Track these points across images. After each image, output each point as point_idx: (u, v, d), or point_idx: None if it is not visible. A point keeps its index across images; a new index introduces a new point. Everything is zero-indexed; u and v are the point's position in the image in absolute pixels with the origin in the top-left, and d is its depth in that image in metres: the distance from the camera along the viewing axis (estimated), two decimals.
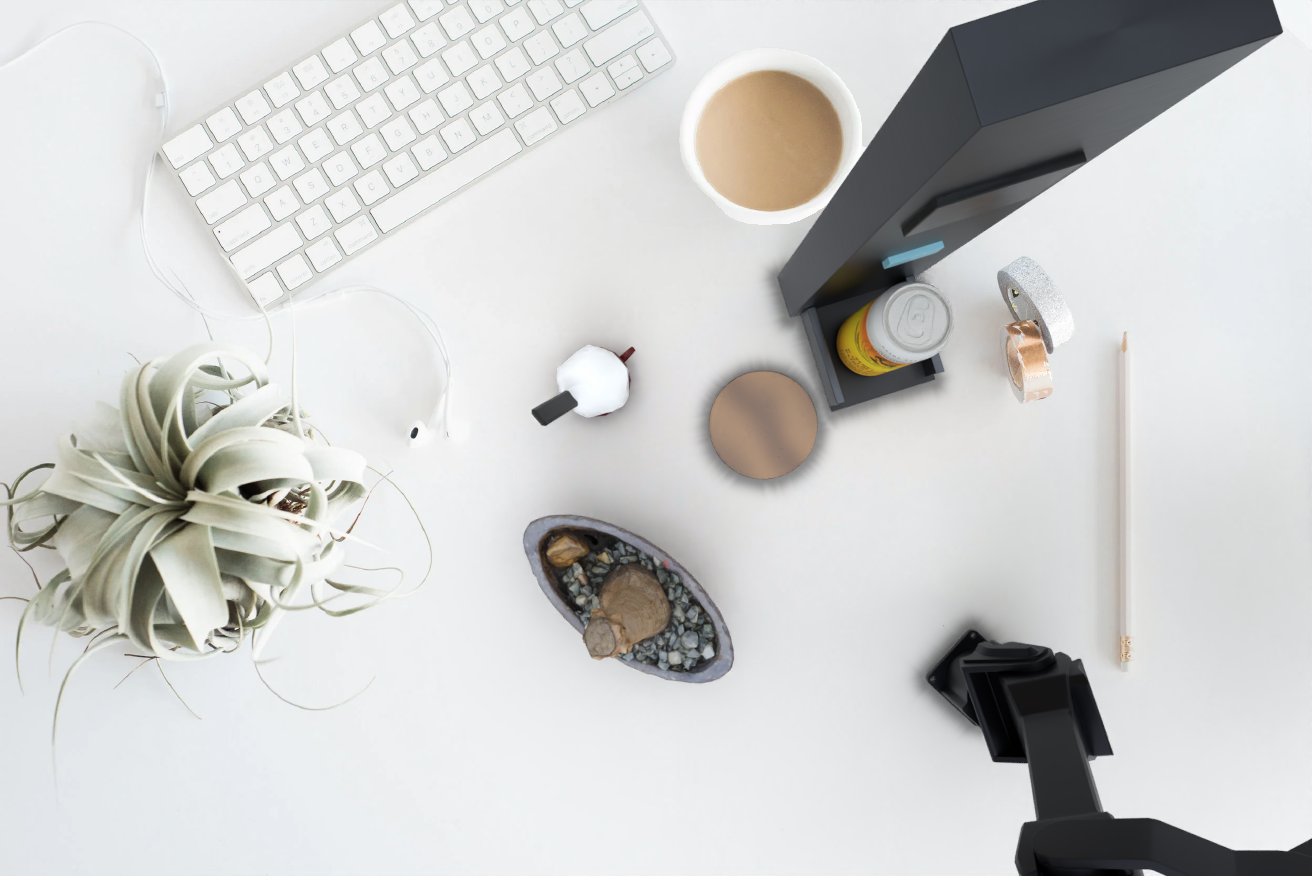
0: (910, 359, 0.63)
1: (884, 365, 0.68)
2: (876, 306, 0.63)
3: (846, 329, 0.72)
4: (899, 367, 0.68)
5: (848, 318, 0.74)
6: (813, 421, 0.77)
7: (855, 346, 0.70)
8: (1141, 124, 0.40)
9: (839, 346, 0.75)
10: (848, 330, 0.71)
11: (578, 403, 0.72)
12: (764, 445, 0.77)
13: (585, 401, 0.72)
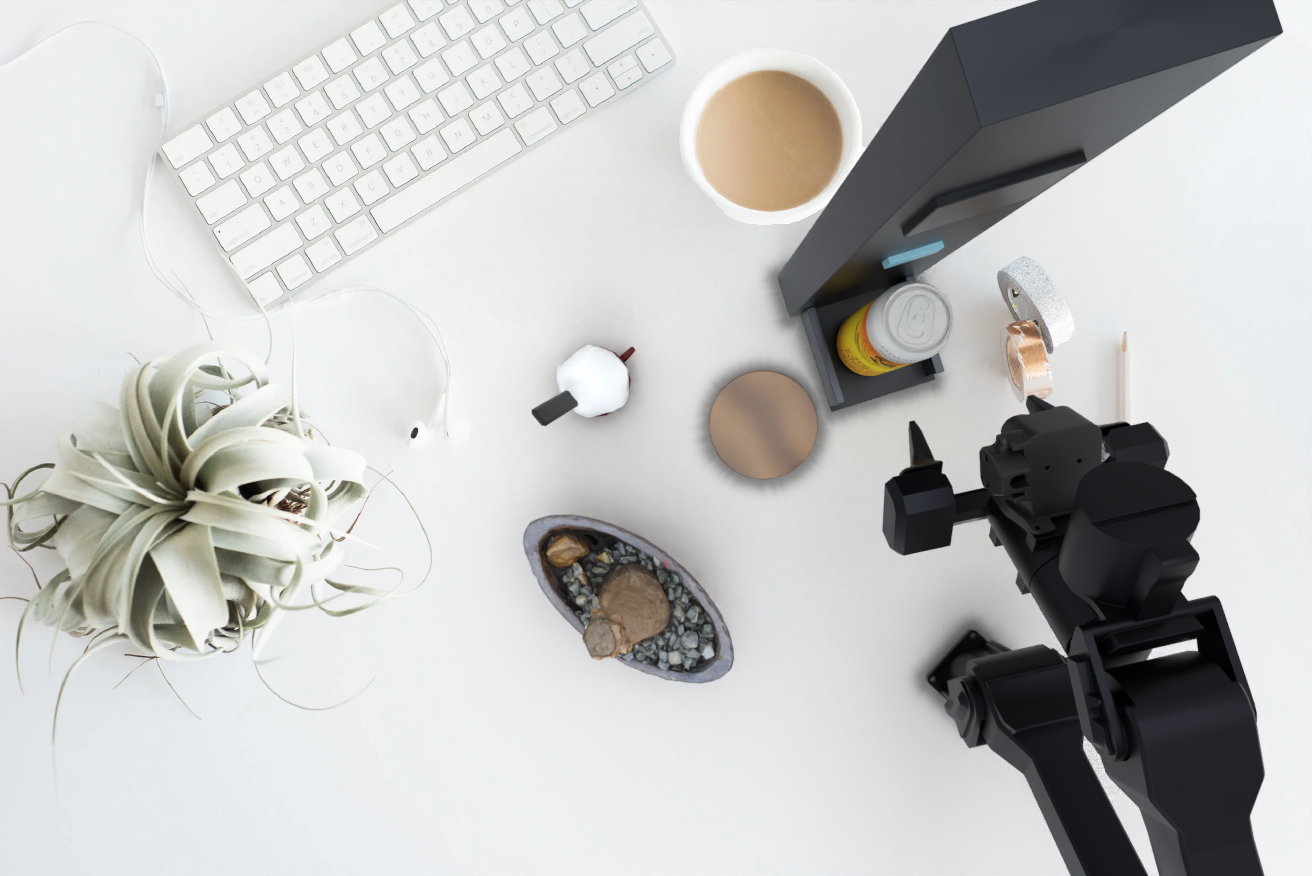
0: (910, 359, 0.63)
1: (884, 365, 0.68)
2: (876, 306, 0.63)
3: (846, 329, 0.72)
4: (899, 367, 0.68)
5: (848, 318, 0.74)
6: (813, 421, 0.77)
7: (855, 346, 0.70)
8: (1141, 124, 0.40)
9: (839, 346, 0.75)
10: (848, 330, 0.71)
11: (578, 403, 0.72)
12: (764, 445, 0.77)
13: (585, 401, 0.72)
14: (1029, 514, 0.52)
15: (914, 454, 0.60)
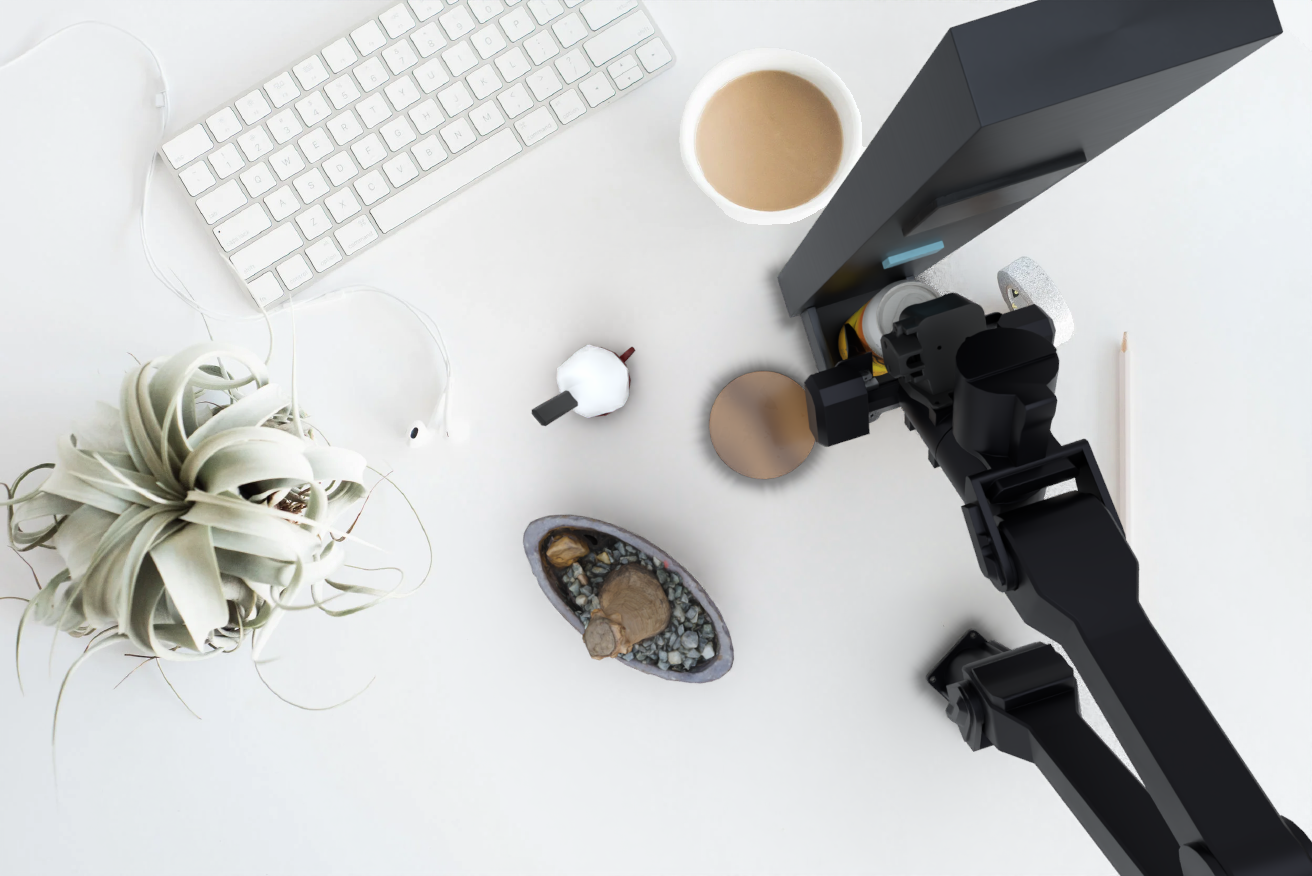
0: None
1: (881, 364, 0.68)
2: (871, 304, 0.63)
3: None
4: None
5: (850, 317, 0.74)
6: None
7: None
8: (1141, 124, 0.40)
9: (840, 345, 0.75)
10: None
11: (578, 403, 0.72)
12: (764, 445, 0.77)
13: (585, 401, 0.72)
14: (929, 392, 0.58)
15: (848, 350, 0.65)
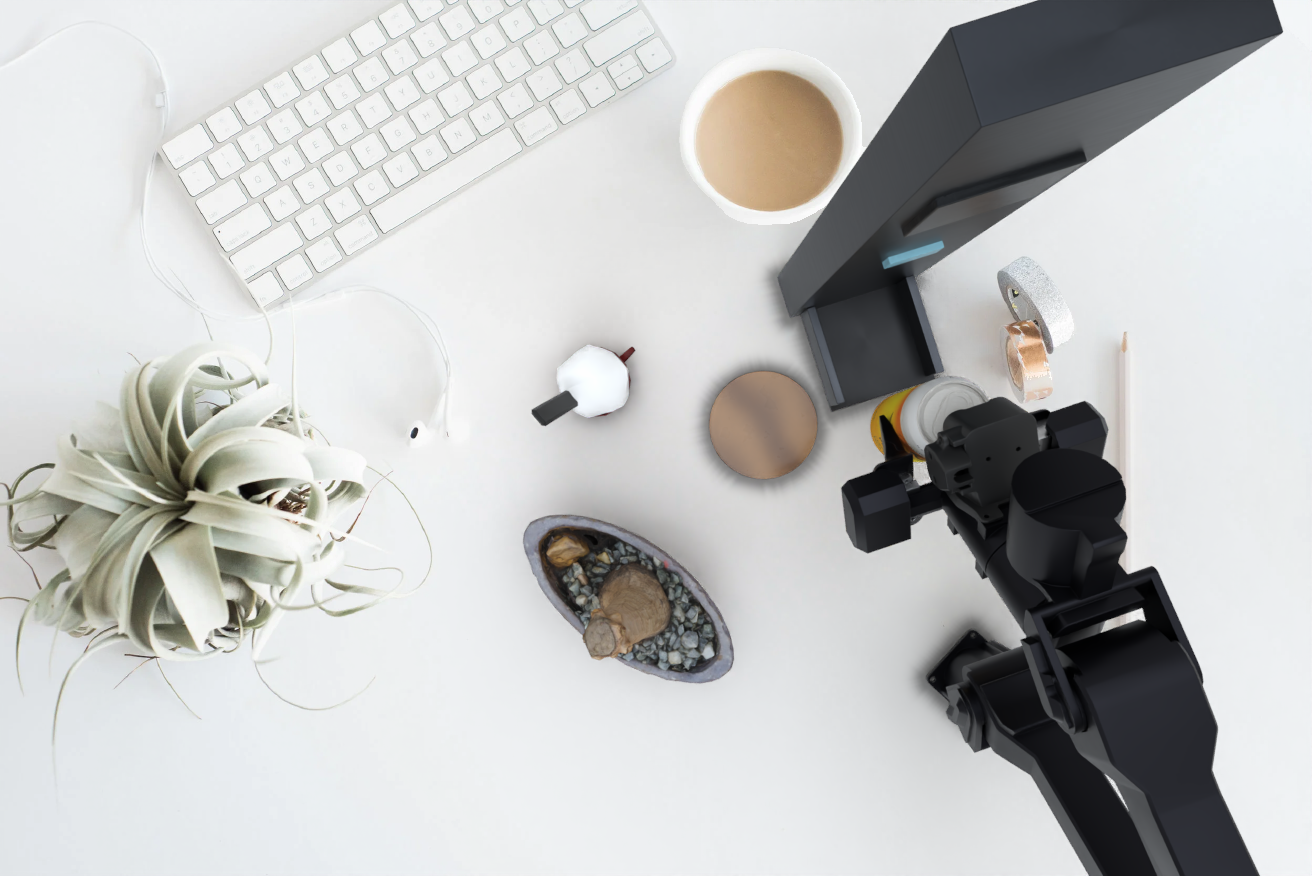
0: None
1: (920, 459, 0.64)
2: (911, 403, 0.59)
3: None
4: None
5: (882, 403, 0.71)
6: (813, 421, 0.77)
7: None
8: (1141, 124, 0.40)
9: (873, 432, 0.71)
10: None
11: (578, 403, 0.72)
12: (764, 445, 0.77)
13: (585, 401, 0.72)
14: (977, 503, 0.54)
15: (886, 448, 0.62)
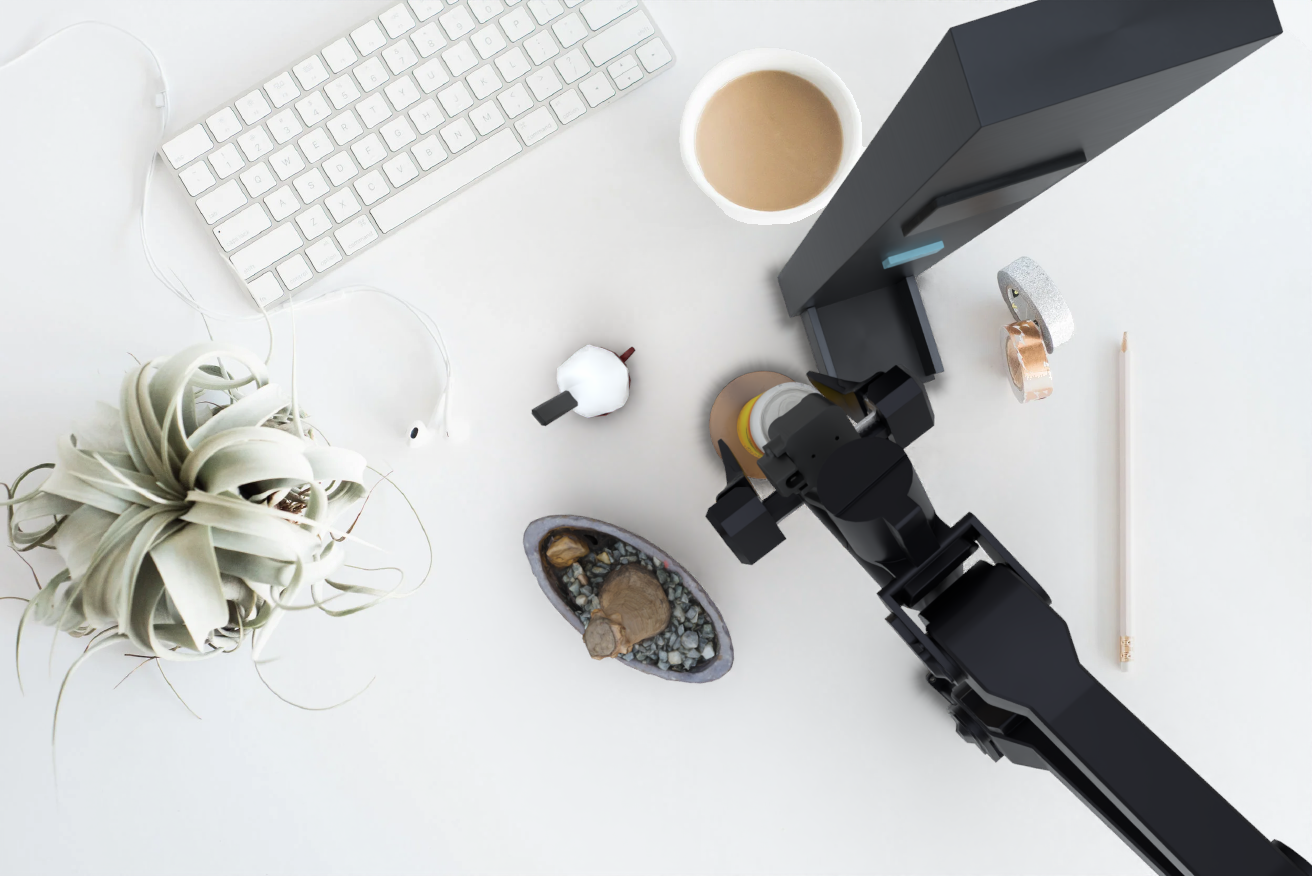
0: None
1: None
2: (753, 420, 0.63)
3: (741, 429, 0.72)
4: None
5: (740, 414, 0.74)
6: None
7: (752, 448, 0.70)
8: (1141, 124, 0.40)
9: (742, 442, 0.75)
10: (742, 431, 0.71)
11: (578, 403, 0.72)
12: None
13: (585, 401, 0.72)
14: None
15: (726, 473, 0.65)
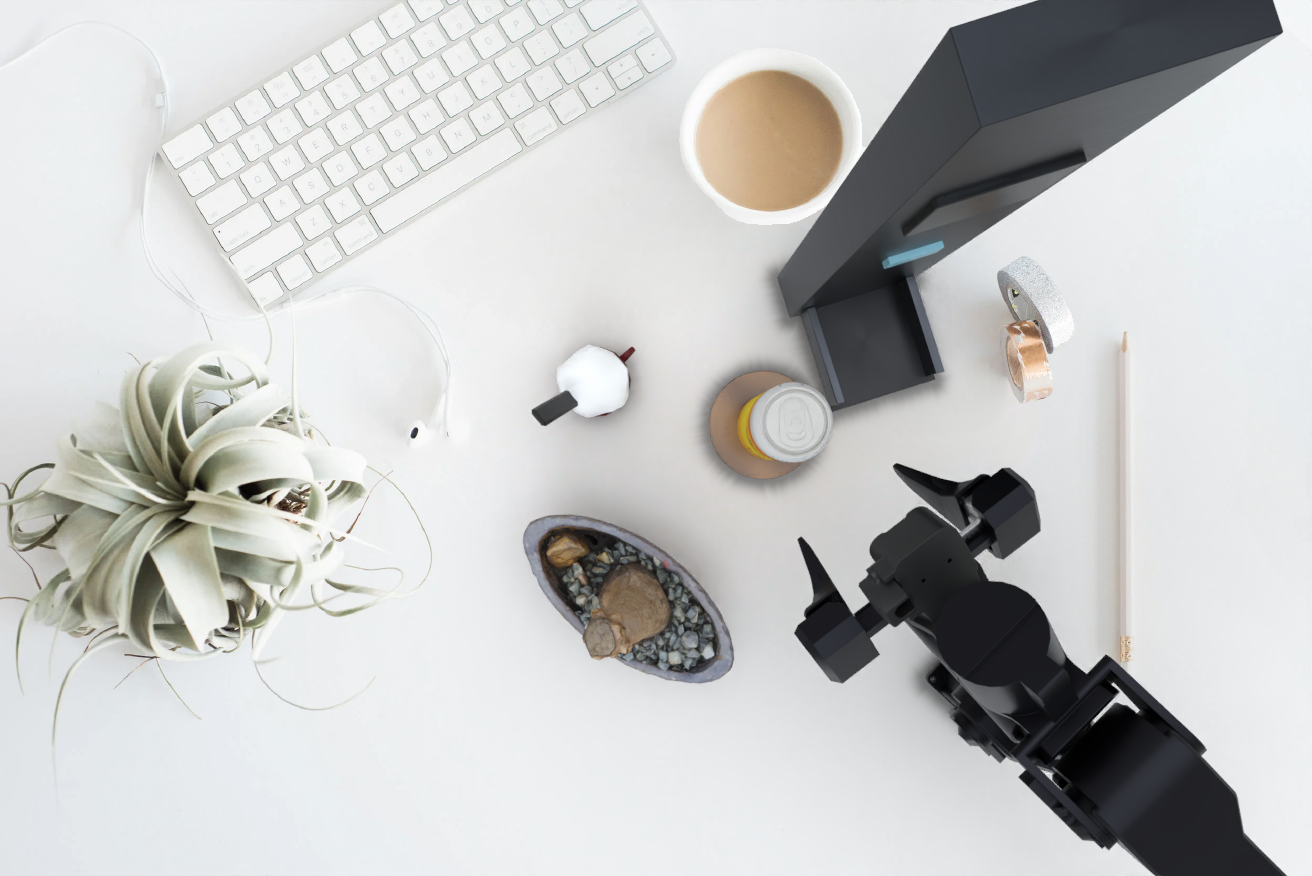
0: (802, 460, 0.63)
1: None
2: (753, 420, 0.63)
3: (741, 429, 0.72)
4: None
5: (740, 414, 0.74)
6: None
7: (752, 448, 0.70)
8: (1141, 124, 0.40)
9: (742, 442, 0.75)
10: (742, 431, 0.71)
11: (578, 403, 0.72)
12: None
13: (585, 401, 0.72)
14: (929, 621, 0.53)
15: (811, 580, 0.60)
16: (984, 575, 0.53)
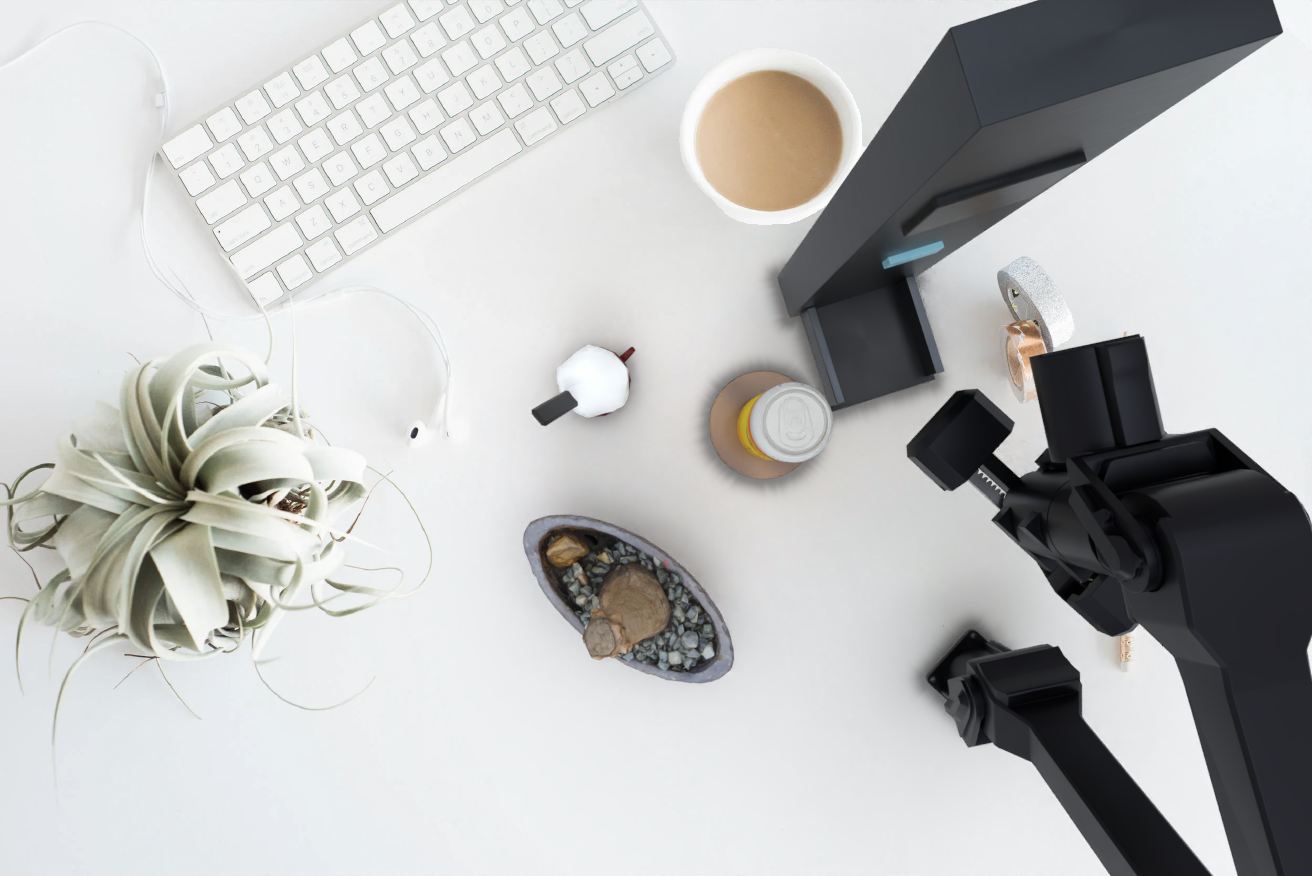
0: (802, 460, 0.63)
1: None
2: (753, 420, 0.63)
3: (741, 429, 0.72)
4: None
5: (740, 414, 0.74)
6: None
7: (752, 448, 0.70)
8: (1141, 124, 0.40)
9: (742, 442, 0.75)
10: (742, 431, 0.71)
11: (578, 403, 0.72)
12: None
13: (585, 401, 0.72)
14: None
15: None
16: None
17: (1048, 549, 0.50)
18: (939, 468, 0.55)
